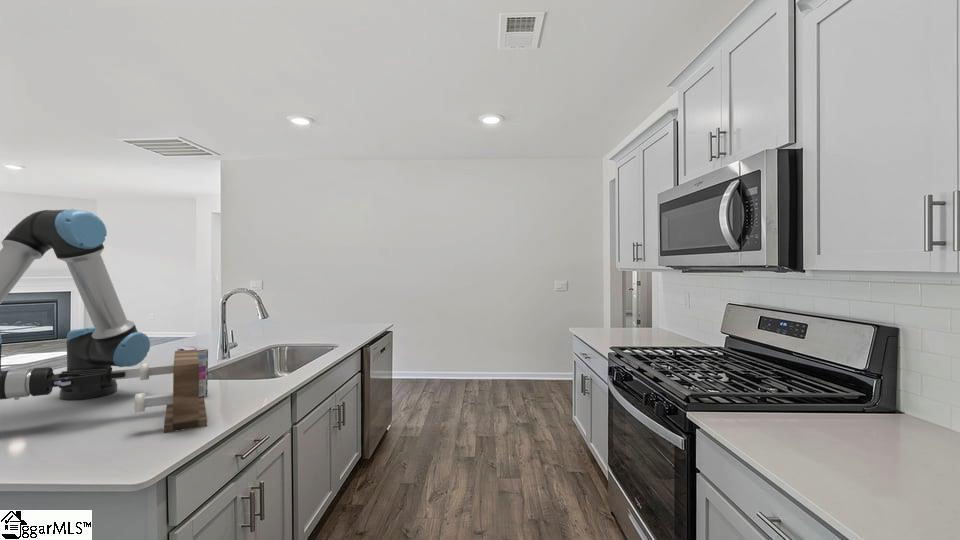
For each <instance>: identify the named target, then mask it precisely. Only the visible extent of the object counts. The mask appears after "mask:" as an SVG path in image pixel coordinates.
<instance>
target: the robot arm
mask: <svg viewBox="0 0 960 540" xmlns="http://www.w3.org/2000/svg"><path fill="white" fill-rule="evenodd" d="M107 236H108V235H107V227H106V224H105V223H104V221H103V220H102V219H101V218H100V217H99V216H98V215H96V214H95V213H93V212H90V211H87V210H81V209H74V208H71V209H55V210H54V209H49V210H48V209H44V210H39V211H36V212H33V213H31V214H29V215H28V216H26V217H25V218H24V217H23V219H22V220H21V221H19V222H18V223H17V224H16V225H15V226H14V227H13V228H12V229H11V231H9V232H8V233H7V235H6V236H5V237H4V239H3V240H2V241H1V244H2V248H1V249H0V305H1V304H2V303H3V301H4V300H5V299H6V298H7V296H8V294H10V292H11V291H12V289H14V288H15V286H16V284H17V283H18V282H19V281H20V280H21V278H22V277H23V276H24V274H25V273H26V271H27V270H28V269H29V268H30V266H31V265H32V264H33V262H34V261H36V260H39V259H42V257H44V255H45V254H46V253H47V252H48V251H50V250H51V249H52V250H53V252H54V254H55V257H56V259H58V260H60V261H63V262H64V263H66V265H67V268H68V270H69V272H70V275H71V277H72V280H73V281H74V284H75V286H76V288H77V291H78V294H79V296H80V297H81V300H82V303H83V305H84V306H85V309H86V311H87V314H88V316H89V318H90V321H91V323H92V325H93V327H86V328H85V327H84V328H79V329H72V330H69V332H67V336H66V341H65V344H66V370H64V371H61V373H60V372H59V373H54V370H53V368H52V367H51V366H47V367H35V368H33V369H31V368H20V369H9V370H2V343H3V339H2V333H1V330H0V401H1V400H8V399H14V401H18V400H20V398H26V397H27V398H28V397H29V396H32V397H39V396H47V395H50V394H51V393H52V391H53V388H59V398H60V399H61V400H67V401H69V400H71V401H72V400H73V401H74V400H86V399H93V398H99V397H103V396H107V395H111V394H113V393H115V392H117V391H118V383H117V380H125V379H135V378H140V366H139V367H134V366H136V365H139V364H141V363H142V361H144V360H145V358H146V357H147V356H148V353H149V352H150V349H151V340H150V338H149V336H148V335H147V334H146V333H143V332H140V331H138V328H137V327H136V325H135V322H134V321H132V320H129V319H127V317H126V315H125V311H124V309H123V307H122V304H121V302H120V300H119V296H118V295H117V292H116V289H115V287H114V285H113V284H114V283H113V282H112V279H111V277H110V274H109V272H108V270H107V267H106V264H105V261H104V260H103V258H102V257H103V256H102V255H101V254H102V252H103V251H104V250H105V245H104V244H103V243H105V241H106V237H107ZM113 367H118V368H117V369H115V368H114V369H113ZM126 367H128V368H126Z"/></svg>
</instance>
